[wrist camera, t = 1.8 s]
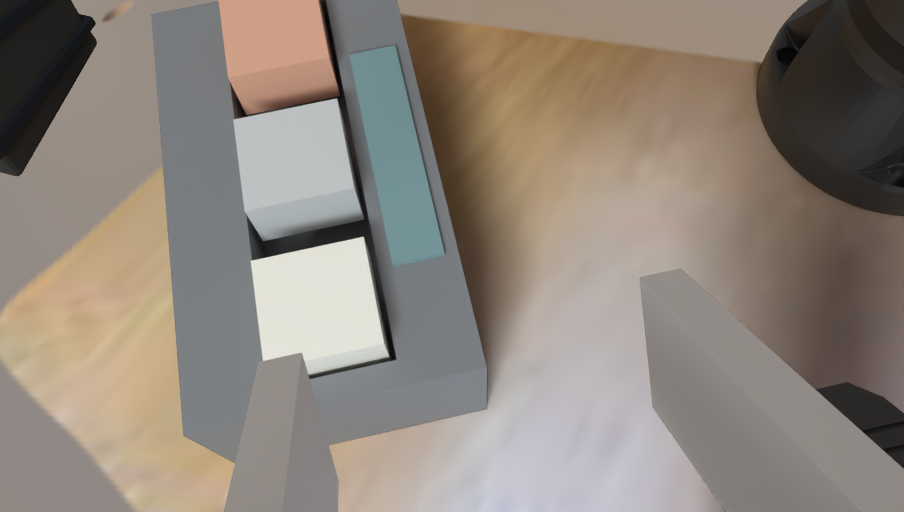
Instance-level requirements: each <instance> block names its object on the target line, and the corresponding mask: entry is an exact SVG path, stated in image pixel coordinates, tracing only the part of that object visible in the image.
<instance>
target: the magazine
mask: <svg viewBox="0 0 904 512" xmlns="http://www.w3.org/2000/svg"><path fill="white" fill-rule="evenodd" d="M95 24H96V23H95V21H94V20H93V18H92V17H90V16H86V15H81V14H79V13H78V12H77V10H76V8H75V7H74V5H73V3H72V1H71V0H0V172H2V173H6V174H10V175H14V176H19V175H21V174H22V172H23V171H24V169H25V167H26V165H27V164H28V162H29V160H30V158H31V157H32V155H33V153H34V152H35V150H36V148H37V146H38V145H39V143H40V141H41V140H42V138H43V136H44V134H45V133H46V131H47V129H48V127H49V125H50V124H51V122H52V121H53V119H54V117H55V115H56V113H57V112H58V110H59V109H60V107H61V105H62V103H63V102H64V100H65V98H66V96H67V95H68V93H69V91H70V90H71V88H72V86H73V84H74V83H75V81H76V79H77V77H78V76H79V74H80V72H81V70H82V69H83V67H84V65H85V64H86V62H87V60H88V59H89V57H90V55H91V53H92V52H93V50H94V48H95V47H96V44H97V41H96V39H95V37H94V36H93V35H92V33H91V32H90V31H91V30H92V28H93V27H94V26H95Z"/></svg>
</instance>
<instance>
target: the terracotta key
mask: <svg viewBox="0 0 904 512" xmlns="http://www.w3.org/2000/svg"><path fill="white" fill-rule="evenodd" d="M219 8H220V16H221V24H222V33H223V41H224V49H225V57H226V65H227V73H228V79H229V81H230V83H231V85H232V87H233V89H234V91H235V93H236V95H237V97H238V99H239V101H240V103H241V105H242V107H243V109H244V111H245V113H246V115H250V114H255V113H260V112H265V111H269V110H274V109H279V108H284V107H289V106H294V105H299V104H304V103H309V102H313V101H318V100H323V99H328V98H333V97H338V96H340V92H339V87H338V81H337V76H336V71H335V66H334V61H333V56H332V50H331V45H330V40H329V35H328V30H327V25H326V21H325V17H324V13H323V10H322V6H321V3H320V0H219Z"/></svg>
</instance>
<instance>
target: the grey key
mask: <svg viewBox="0 0 904 512" xmlns="http://www.w3.org/2000/svg"><path fill="white" fill-rule="evenodd" d="M233 122H234V130H235V138H236V146H237V154H238V162H239V171H240V179H241V187H242V195H243V203H244V211H245V213H246V214H247V216H248V218H249V219H250V221H251V222H252V224H253V226H254V227H255V229H256V230H257V232H258V234H259V235H260V237H261V238H262V240H263V241H267V240H271V239H276V238H281V237H285V236H290V235H295V234H300V233H304V232H309V231H314V230H318V229H323V228H328V227H332V226H337V225H342V224H346V223H351V222H356V221H360V220H364V215H363V210H362V205H361V200H360V195H359V189H358V184H357V179H356V174H355V169H354V164H353V158H352V153H351V148H350V143H349V138H348V134H347V130H346V127H345V123H344V120H343V117H342V113H341V110H340V107H339V103H338V100H337V99H332V100H327V101H322V102H317V103H312V104H307V105H302V106H297V107H293V108H288V109H283V110H278V111H273V112H268V113H263V114H258V115H254V116H249V117H244V118H239V119H234V120H233Z"/></svg>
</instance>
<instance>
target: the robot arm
mask: <svg viewBox="0 0 904 512" xmlns="http://www.w3.org/2000/svg"><path fill="white" fill-rule="evenodd" d="M757 97H758V105H759V110H760V114H761V117H762V121H763V123H764V126H765V128H766V130H767V132H768V134H769V136H770V138H771V140H772V141H773V143H774V145H775V146H776V148H777V149H778V150H779V152H780V153H781V154H782V156H783V157H784V158H785V159H786V160H787V161H788V162H789V164H790V165H791V166H792V167H793V168H794V169H795V170H797V171H798V172H799V173H800V174H801V175H802V176H803V177H805V178H806V179H807V180H808V181H810V182H811V183H813V184H814V185H815V186H817V187H818V188H820V189H822V190H823V191H825V192H827V193H828V194H830V195H832V196H834V197H836V198H838V199H840V200H842V201H844V202H847V203H849V204H852V205H854V206H857V207H860V208H863V209H867V210H870V211H874V212H879V213H884V214H890V215H899V216H904V0H808V1H807V2H805V3H804V4H803V5H802V6H801V7H799V8H798V9H797V10H796V11H795V12H794V13H793V14H792V15H791V16H790V17H789V19H788V20H787V21H786V22H785V23H784V25H783V26H782V27H781V29H780V30H779V32H778V33H777V35H776V37H775V39H774V41H773V43H772V45H771V46H770V49H769V50H768V52H767V54H766V56H765V58H764V60H763V63H762V66H761V68H760V72H759V77H758V85H757ZM640 286H641V296H642V306H643V316H644V326H645V336H646V346H647V356H648V366H649V376H650V385H651V395H652V405H653V409H654V410H655V411H656V413H657V414H658V416H659V417H660V419H661V420H662V421H663V423H664V424H665V426H666V427H667V429H668V430H669V432H670V433H671V434H672V436H673V437H674V439H675V440H676V442H677V443H678V444H679V446H680V447H681V449H682V450H683V452H684V453H685V455H686V456H687V457H688V459H689V460H690V462H691V463H692V465H693V466H694V467H695V469H696V470H697V472H698V473H699V475H700V476H701V478H702V479H703V480H704V482H705V483H706V485H707V486H708V488H709V489H710V491H711V492H712V493H713V495H714V496H715V498H716V499H717V501H718V502H719V503H720V505H721V506H722V508H723V509H724V511H725V512H904V413H903V412H901V411H900V410H899V409H898V408H896V407H895V406H894V405H893V404H891V403H890V402H889V401H888V400H886V399H885V398H884V397H881V396H879V395H876V394H874V393H872V392H869V391H867V390H864V389H862V388H860V387H857V386H855V385H852V384H850V383H848V382H846V383H842V384H838V385H833V386H829V387H825V388H820V389H816V390H815V389H814V388H813V387H812V386H811V385H810V384H809V383H808V382H806V381H805V380H804V379H803V378H802V377H801V376H800V375H799V374H797V373H796V372H795V371H794V370H793V369H792V368H791V367H790V366H789V365H787V364H786V363H785V362H784V361H783V360H782V359H781V358H780V357H779V356H777V355H776V354H775V353H774V352H773V351H772V350H771V349H770V348H769V347H767V346H766V345H765V344H764V343H763V342H762V341H761V340H760V339H759V338H757V337H756V336H755V335H754V334H753V333H752V332H751V331H750V330H748V329H747V328H746V327H745V326H744V325H743V324H742V323H741V322H740V321H738V320H737V319H736V318H735V317H734V316H733V315H732V314H731V313H730V312H728V311H727V310H726V309H725V308H724V307H723V306H722V305H721V304H720V303H718V302H717V301H716V300H715V299H714V298H713V297H712V296H711V295H709V294H708V293H707V292H706V291H705V290H704V289H703V288H702V287H701V286H699V285H698V284H697V283H696V282H695V281H694V280H693V279H692V278H691V277H689V276H688V275H687V274H686V273H685V272H684V271H683V270H682V269H677V270H672V271H668V272H663V273H659V274H654V275H650V276H645V277H640ZM224 512H338V476H337V473H336V469H335V466H334V462H333V459H332V456H331V452H330V449H329V445H328V442H327V438H326V435H325V431H324V428H323V424H322V421H321V417H320V414H319V410H318V407H317V403H316V400H315V396H314V393H313V389H312V386H311V382H310V379H309V375H308V372H307V368H306V365H305V361H304V358H303V354H302V352H301V353H297V354H292V355H288V356H283V357H279V358H274V359H270V360H265V361H261V362H259V363H258V367H257V371H256V376H255V380H254V384H253V389H252V393H251V397H250V402H249V406H248V410H247V414H246V419H245V423H244V427H243V432H242V436H241V440H240V445H239V449H238V453H237V458H236V462H235V466H234V471H233V475H232V479H231V484H230V488H229V492H228V496H227V501H226V505H225V509H224Z"/></svg>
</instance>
